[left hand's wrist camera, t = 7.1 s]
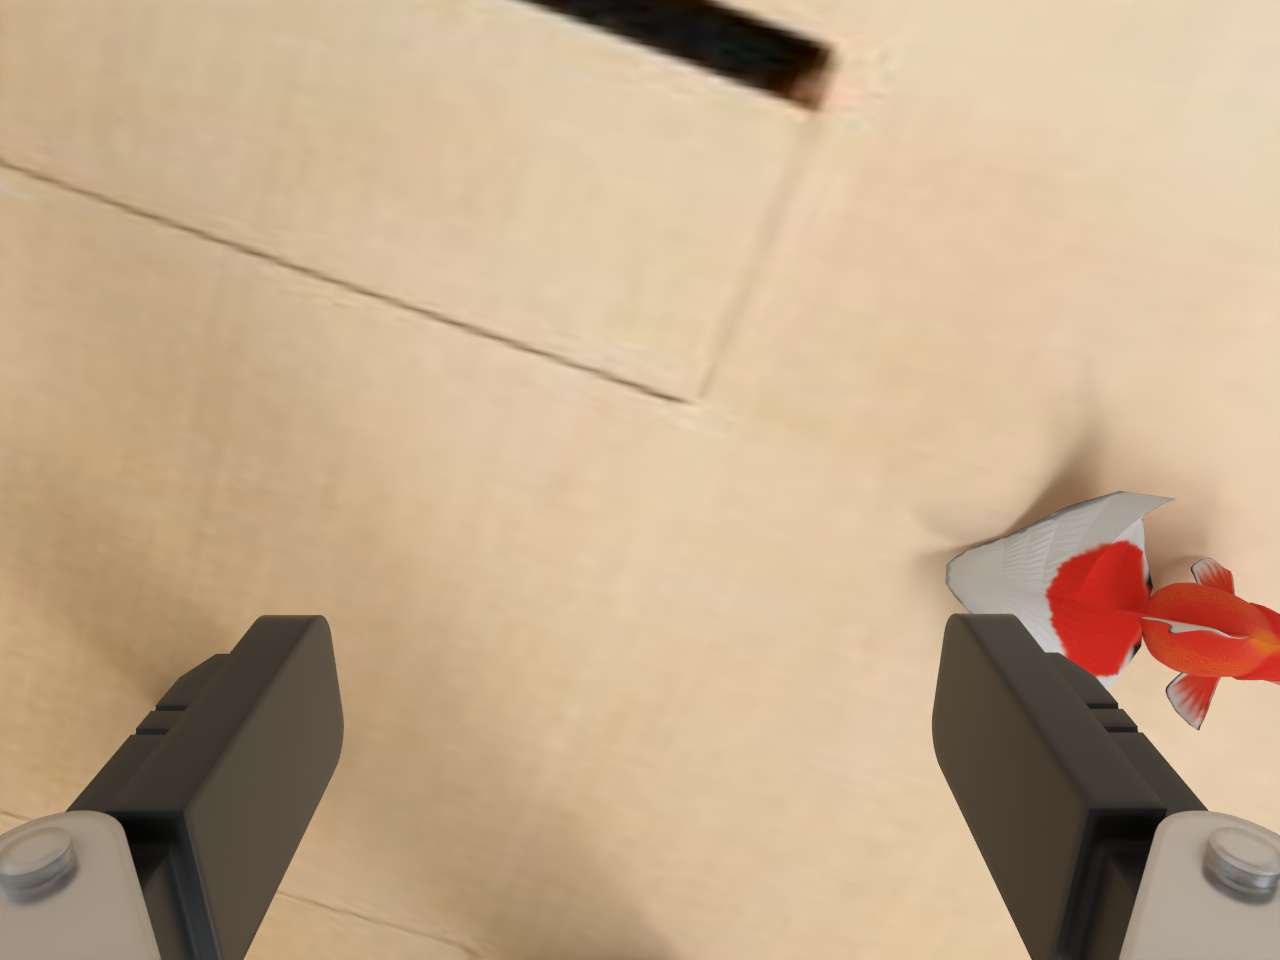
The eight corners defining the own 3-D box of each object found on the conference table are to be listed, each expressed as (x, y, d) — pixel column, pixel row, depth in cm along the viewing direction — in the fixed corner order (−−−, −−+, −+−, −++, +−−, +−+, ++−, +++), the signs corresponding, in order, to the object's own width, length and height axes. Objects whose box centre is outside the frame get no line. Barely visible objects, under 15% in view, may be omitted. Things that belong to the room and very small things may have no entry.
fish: (1191, 800, 43) (1291, 856, 33) (900, 629, 47) (914, 635, 37) (1302, 610, 43) (1434, 612, 33) (1002, 457, 47) (1042, 418, 37)
